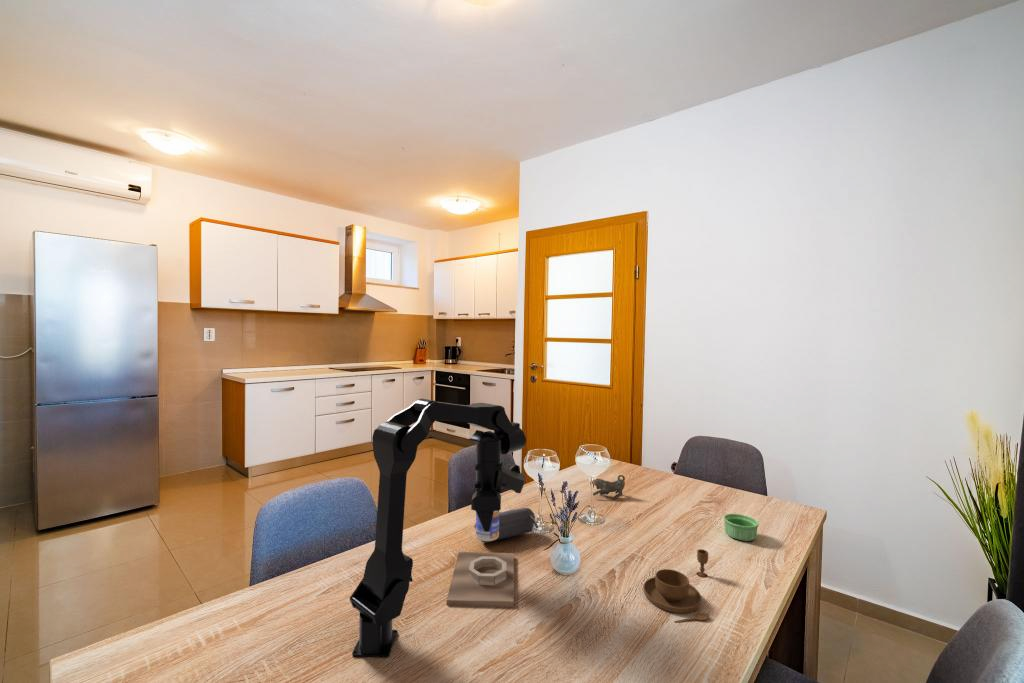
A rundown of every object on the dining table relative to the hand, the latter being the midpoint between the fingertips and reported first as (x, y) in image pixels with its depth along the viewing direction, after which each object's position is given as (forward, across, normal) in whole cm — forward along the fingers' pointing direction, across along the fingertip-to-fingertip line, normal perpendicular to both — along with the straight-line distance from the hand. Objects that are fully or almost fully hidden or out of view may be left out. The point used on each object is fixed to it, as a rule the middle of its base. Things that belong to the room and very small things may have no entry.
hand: (487, 525), depth 101 cm
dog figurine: (+13, +54, -40) cm, 68 cm away
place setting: (+14, -4, -45) cm, 47 cm away
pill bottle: (+3, 0, 0) cm, 3 cm away
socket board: (+13, 0, +1) cm, 13 cm away
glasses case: (+13, +20, -4) cm, 24 cm away
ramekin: (+13, +25, -72) cm, 77 cm away
